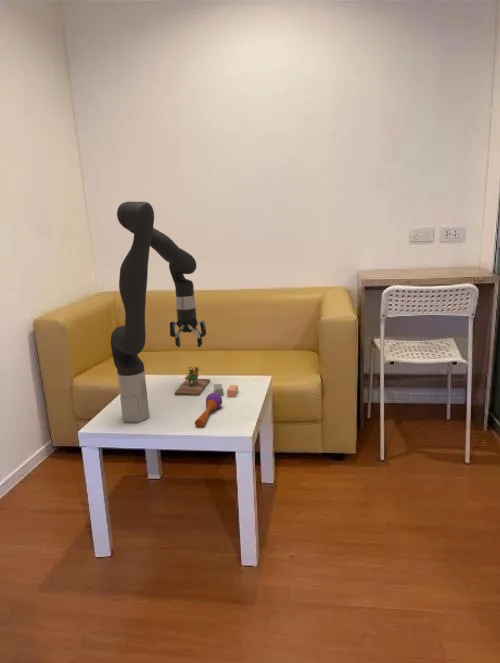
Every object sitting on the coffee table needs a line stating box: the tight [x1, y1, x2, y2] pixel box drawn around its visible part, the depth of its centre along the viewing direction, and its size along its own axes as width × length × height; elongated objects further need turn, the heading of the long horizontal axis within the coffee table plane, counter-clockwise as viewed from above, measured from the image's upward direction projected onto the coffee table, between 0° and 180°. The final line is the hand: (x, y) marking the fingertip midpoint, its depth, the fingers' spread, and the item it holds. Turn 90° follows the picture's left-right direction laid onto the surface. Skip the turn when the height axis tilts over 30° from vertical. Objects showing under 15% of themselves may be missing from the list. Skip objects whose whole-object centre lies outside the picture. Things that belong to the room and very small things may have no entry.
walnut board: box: [174, 378, 211, 397], centre depth 211 cm, size 16×10×1 cm, turn 169°
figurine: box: [184, 366, 200, 386], centre depth 210 cm, size 3×12×8 cm, turn 158°
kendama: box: [194, 392, 223, 429], centre depth 183 cm, size 6×6×20 cm
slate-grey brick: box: [213, 383, 224, 397], centre depth 204 cm, size 6×3×3 cm, turn 9°
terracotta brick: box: [226, 384, 239, 399], centre depth 202 cm, size 6×3×3 cm, turn 169°
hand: (189, 346), depth 207 cm, fingers open, 8 cm apart
